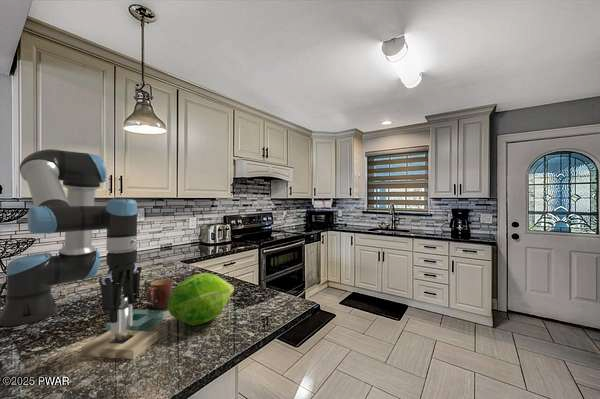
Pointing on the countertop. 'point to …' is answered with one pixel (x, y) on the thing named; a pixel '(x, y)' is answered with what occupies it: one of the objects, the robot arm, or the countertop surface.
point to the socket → (142, 319)
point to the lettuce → (199, 298)
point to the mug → (160, 293)
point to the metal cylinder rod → (123, 321)
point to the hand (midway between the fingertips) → (121, 328)
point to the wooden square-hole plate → (120, 345)
